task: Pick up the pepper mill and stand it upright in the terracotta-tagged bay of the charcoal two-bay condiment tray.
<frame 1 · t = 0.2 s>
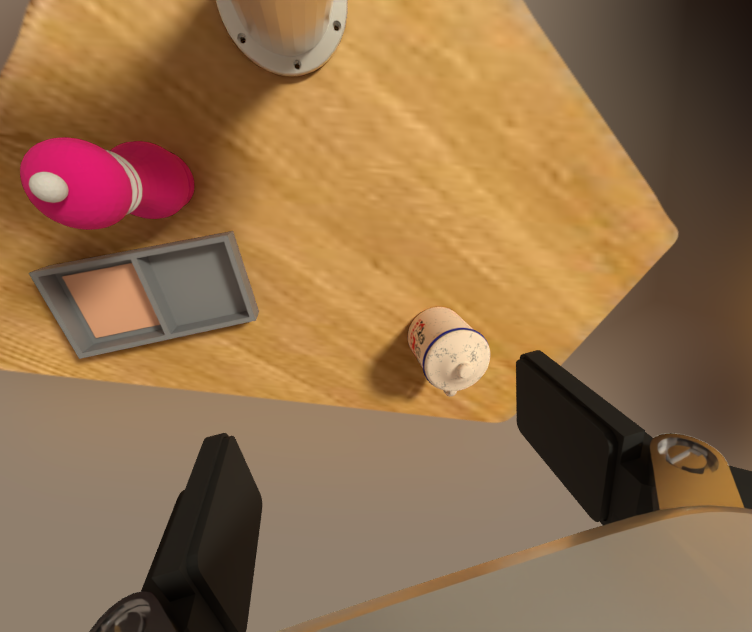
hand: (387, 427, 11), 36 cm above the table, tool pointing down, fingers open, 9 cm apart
condiment tray: (161, 290, 43), on the table
teacup with lid: (434, 340, 53), on the table
pepper mill: (164, 180, 39), on the table
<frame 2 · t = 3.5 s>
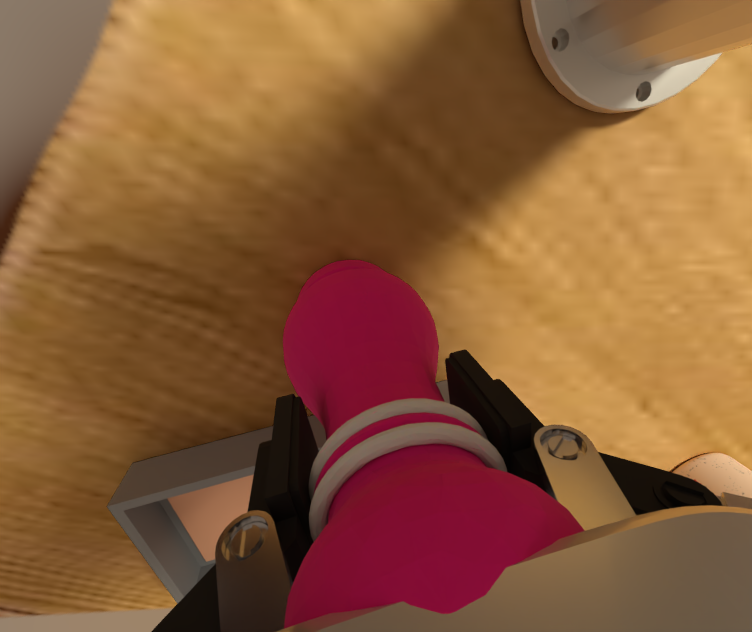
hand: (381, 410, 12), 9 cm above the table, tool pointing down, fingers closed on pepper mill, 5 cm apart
condiment tray: (316, 477, 25), on the table
teacup with lid: (686, 493, 35), on the table
pepper mill: (349, 309, 21), on the table, touching gripper
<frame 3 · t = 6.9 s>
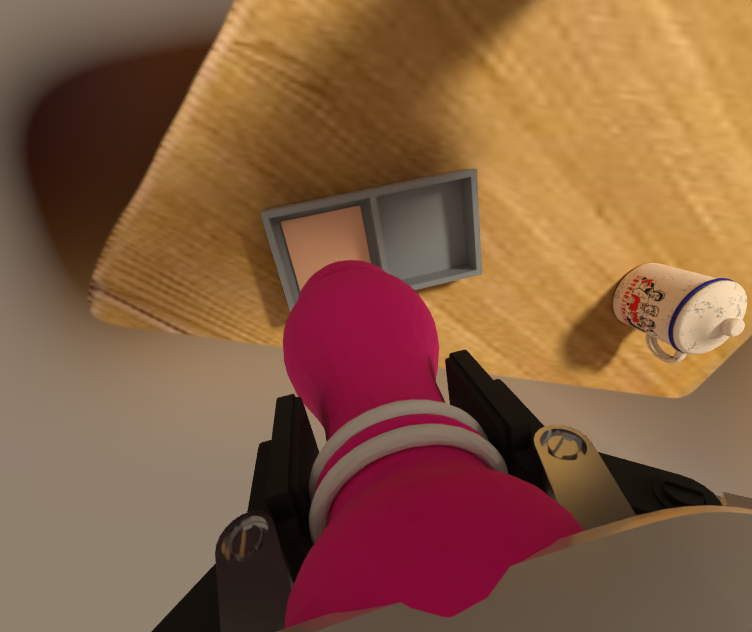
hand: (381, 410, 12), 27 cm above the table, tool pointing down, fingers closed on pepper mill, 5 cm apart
condiment tray: (375, 240, 37), on the table
teacup with lid: (636, 303, 47), on the table
pepper mill: (349, 309, 21), point 18 cm above the table, touching gripper
when the fingers open (12 cm above the table, at t = 10.2 s): pepper mill drops 1 cm, resting on condiment tray.
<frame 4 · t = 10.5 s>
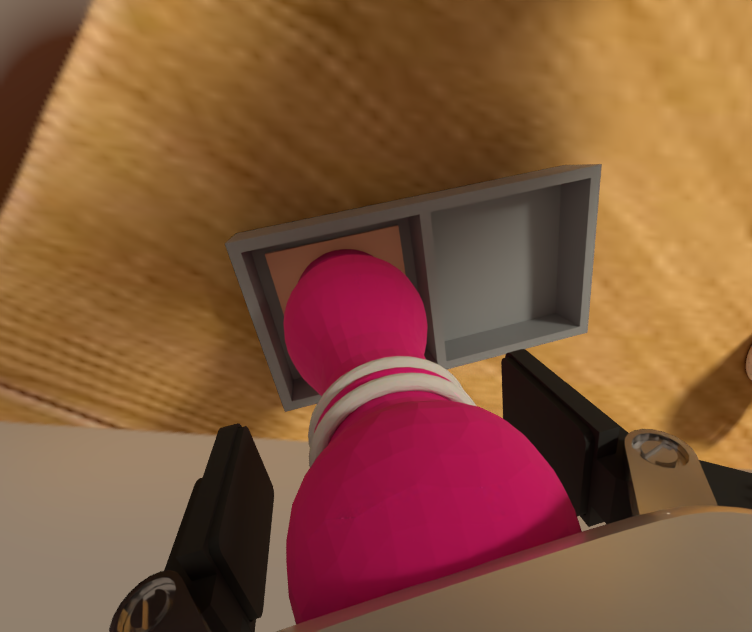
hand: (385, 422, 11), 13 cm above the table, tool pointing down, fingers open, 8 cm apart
condiment tray: (418, 280, 23), on the table
pepper mill: (345, 296, 22), point 1 cm above the table, touching condiment tray
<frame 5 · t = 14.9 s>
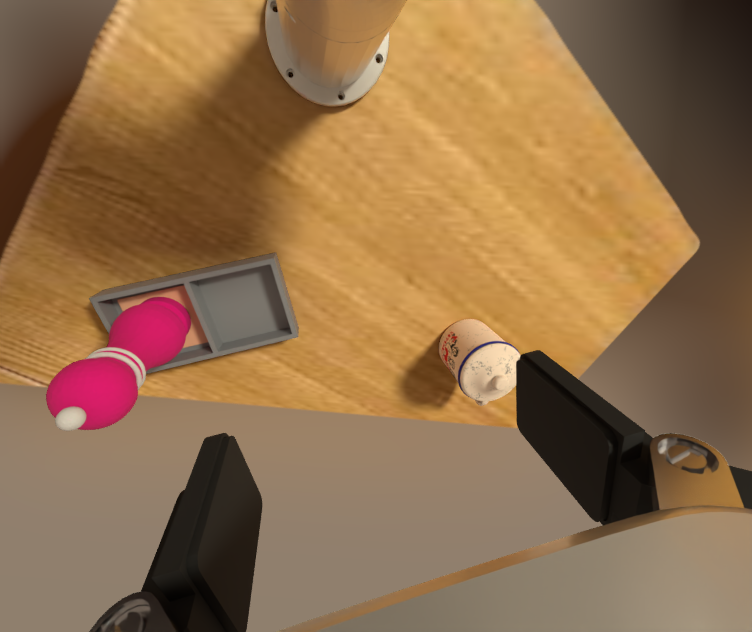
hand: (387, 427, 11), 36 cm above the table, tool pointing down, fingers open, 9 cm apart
condiment tray: (208, 309, 45), on the table
teacup with lid: (463, 350, 55), on the table
pepper mill: (164, 319, 44), point 1 cm above the table, touching condiment tray
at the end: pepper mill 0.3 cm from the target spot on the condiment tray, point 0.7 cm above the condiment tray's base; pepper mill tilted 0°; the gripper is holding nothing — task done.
